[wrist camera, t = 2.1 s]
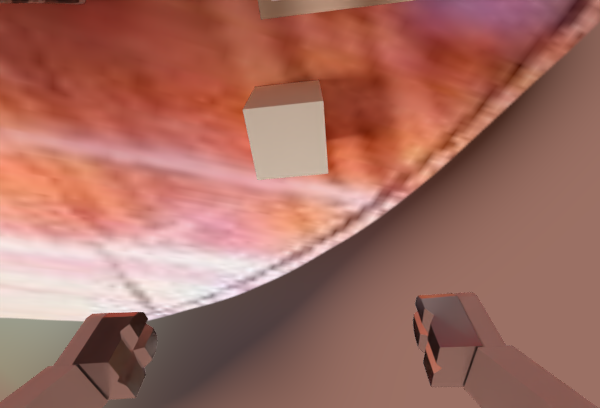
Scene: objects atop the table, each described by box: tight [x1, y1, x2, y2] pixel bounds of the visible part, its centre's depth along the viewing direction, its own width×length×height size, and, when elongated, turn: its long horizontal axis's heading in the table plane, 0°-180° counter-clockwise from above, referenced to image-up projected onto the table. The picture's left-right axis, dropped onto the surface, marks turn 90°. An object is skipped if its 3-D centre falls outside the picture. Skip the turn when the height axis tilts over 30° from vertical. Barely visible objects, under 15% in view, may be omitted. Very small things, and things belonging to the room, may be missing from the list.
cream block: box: [243, 80, 328, 180], centre depth 23 cm, size 5×5×6 cm
